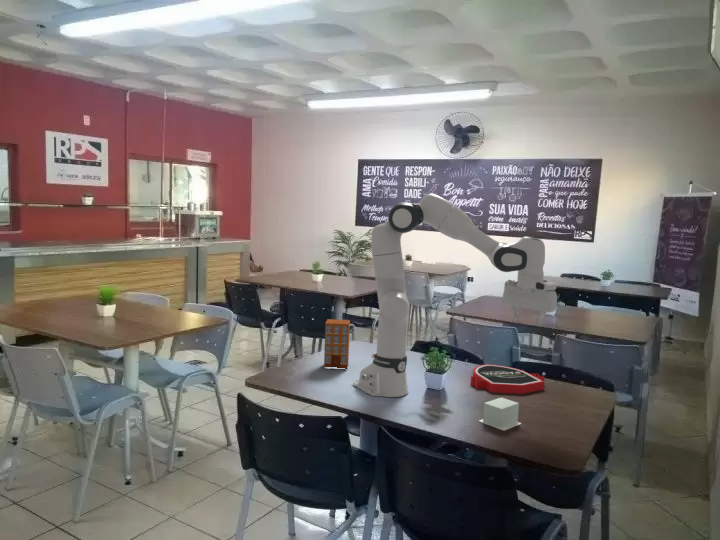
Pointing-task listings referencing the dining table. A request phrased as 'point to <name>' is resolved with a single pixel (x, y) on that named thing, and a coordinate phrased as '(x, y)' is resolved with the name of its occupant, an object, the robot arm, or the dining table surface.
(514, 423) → the mark
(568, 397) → the dining table surface
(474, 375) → the emblem
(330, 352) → the miniature building
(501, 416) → the pale green rectangular prism
